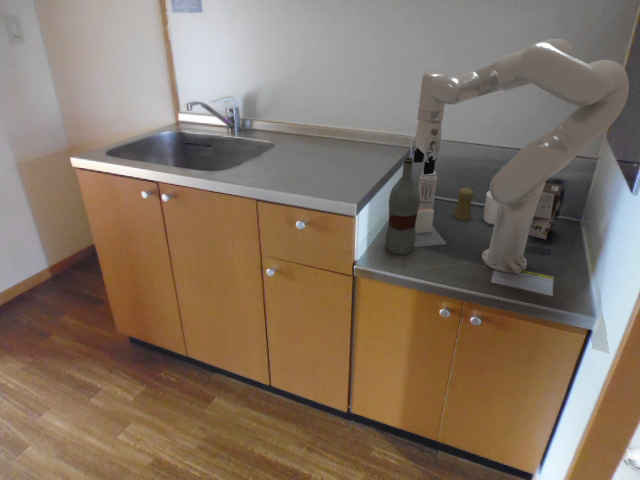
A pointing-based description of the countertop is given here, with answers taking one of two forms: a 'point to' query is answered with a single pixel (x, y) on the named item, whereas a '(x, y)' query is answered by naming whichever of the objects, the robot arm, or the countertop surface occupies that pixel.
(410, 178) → the bottle
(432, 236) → the mat
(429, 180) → the energy drink can
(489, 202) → the white cup
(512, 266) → the robot arm
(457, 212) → the cork
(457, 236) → the countertop surface
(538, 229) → the coffee box
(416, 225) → the tile
